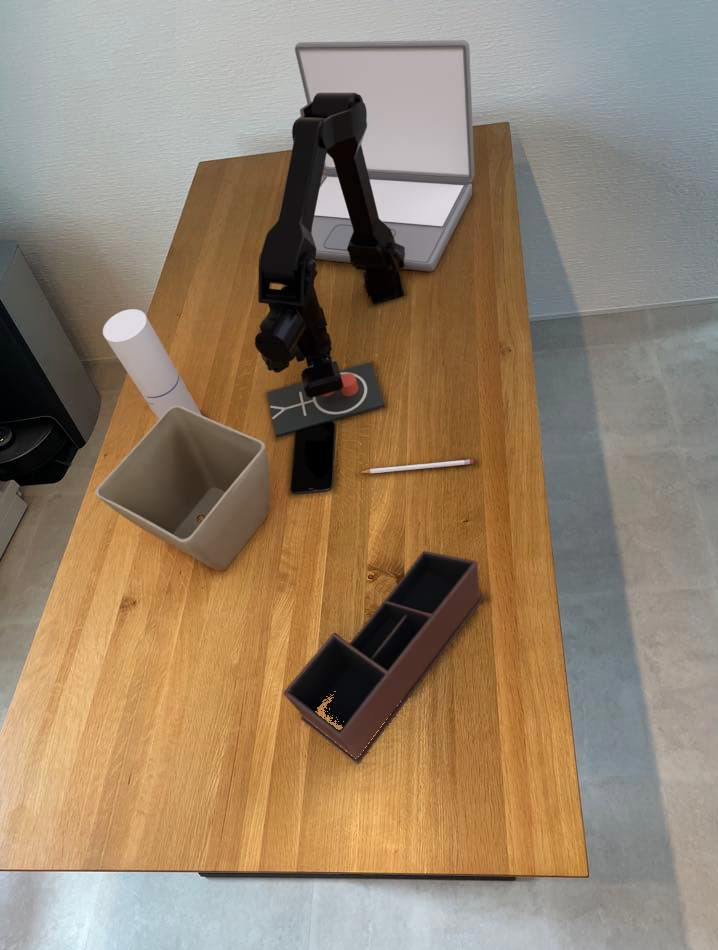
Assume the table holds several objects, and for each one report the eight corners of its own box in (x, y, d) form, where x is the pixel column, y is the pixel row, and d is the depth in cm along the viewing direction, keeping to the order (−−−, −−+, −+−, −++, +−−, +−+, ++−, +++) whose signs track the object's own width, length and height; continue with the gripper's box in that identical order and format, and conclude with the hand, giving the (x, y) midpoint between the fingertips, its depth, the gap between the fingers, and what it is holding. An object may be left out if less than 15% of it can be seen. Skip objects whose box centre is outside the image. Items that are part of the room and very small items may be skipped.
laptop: (277, 257, 148) (232, 120, 124) (328, 179, 160) (296, 40, 135) (432, 275, 135) (416, 126, 111) (476, 189, 147) (470, 38, 123)
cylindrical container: (199, 445, 123) (136, 341, 102) (164, 444, 125) (95, 341, 104) (211, 415, 127) (152, 308, 106) (176, 414, 129) (112, 309, 108)
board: (371, 364, 126) (370, 361, 125) (384, 407, 120) (383, 403, 119) (268, 394, 127) (266, 391, 126) (276, 438, 121) (274, 434, 120)
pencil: (474, 464, 110) (474, 462, 109) (360, 475, 113) (359, 472, 112) (473, 460, 110) (473, 458, 110) (360, 471, 113) (359, 469, 113)
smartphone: (296, 427, 122) (290, 496, 114) (295, 424, 121) (289, 493, 113) (336, 423, 121) (333, 492, 113) (335, 420, 120) (332, 489, 112)
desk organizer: (300, 719, 93) (277, 693, 84) (426, 563, 102) (418, 523, 93) (358, 766, 89) (340, 744, 79) (485, 598, 98) (483, 560, 88)
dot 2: (356, 381, 123) (353, 371, 121) (360, 393, 121) (357, 383, 119) (339, 386, 123) (336, 376, 121) (342, 398, 122) (339, 388, 120)
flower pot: (297, 506, 112) (267, 442, 98) (228, 598, 106) (185, 543, 91) (212, 467, 120) (173, 402, 106) (143, 550, 114) (91, 493, 99)
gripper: (248, 294, 113) (275, 362, 126) (262, 370, 103) (290, 436, 116) (312, 274, 112) (333, 345, 125) (333, 350, 102) (353, 418, 115)
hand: (325, 385), depth 120 cm, fingers closed on dot 1, 3 cm apart
